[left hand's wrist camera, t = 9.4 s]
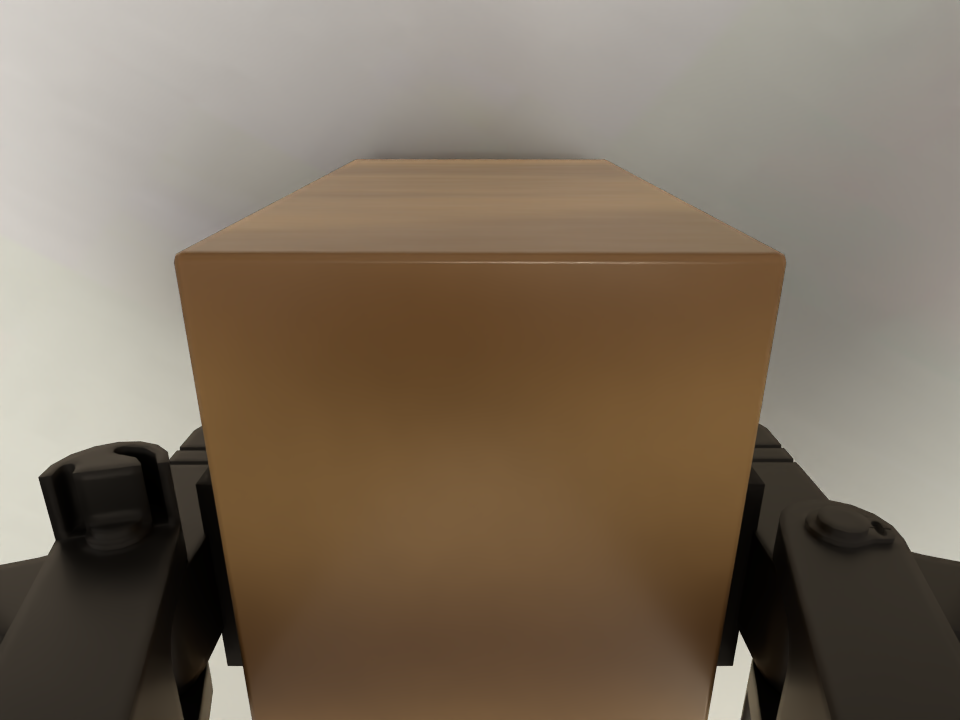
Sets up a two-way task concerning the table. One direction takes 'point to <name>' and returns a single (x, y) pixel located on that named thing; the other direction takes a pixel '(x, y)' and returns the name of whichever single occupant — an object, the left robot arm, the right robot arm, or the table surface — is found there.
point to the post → (480, 438)
